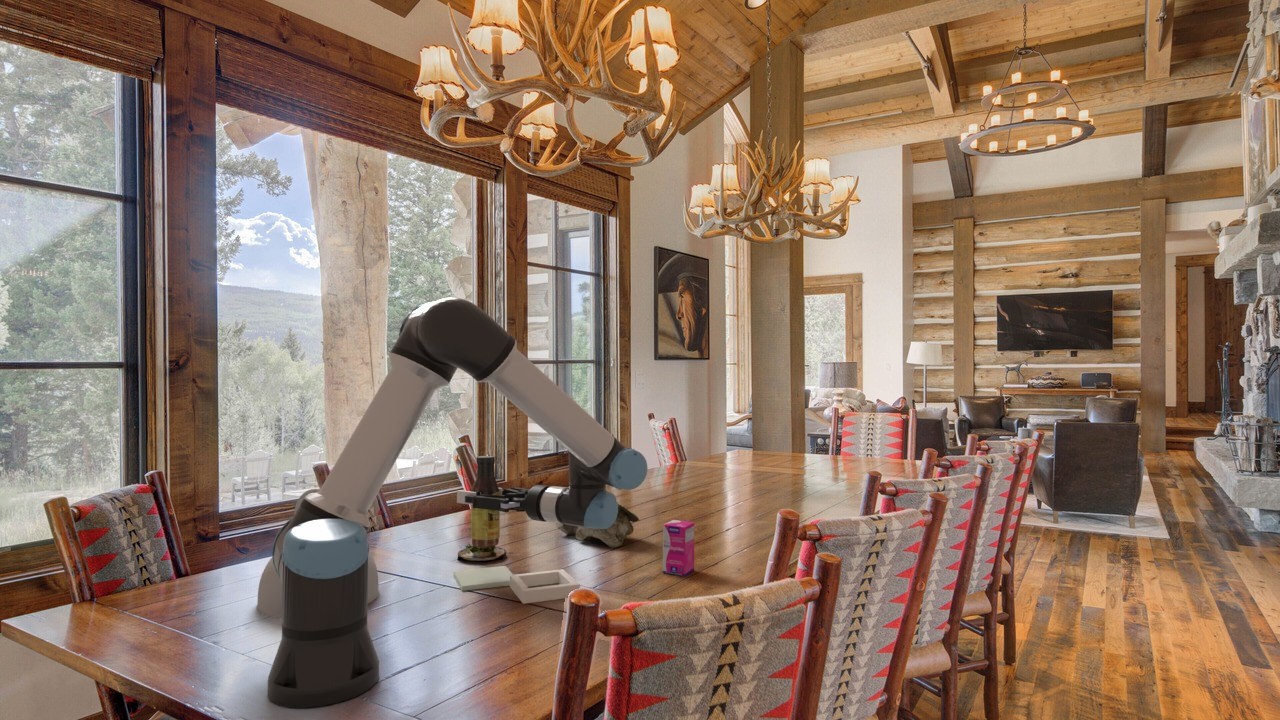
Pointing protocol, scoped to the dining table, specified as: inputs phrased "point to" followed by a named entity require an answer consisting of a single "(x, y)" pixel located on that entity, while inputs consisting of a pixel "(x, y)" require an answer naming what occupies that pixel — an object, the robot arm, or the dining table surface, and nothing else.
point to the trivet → (483, 578)
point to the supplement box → (678, 547)
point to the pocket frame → (545, 593)
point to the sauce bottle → (484, 520)
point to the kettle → (272, 584)
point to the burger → (481, 553)
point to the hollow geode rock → (610, 535)
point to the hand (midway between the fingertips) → (469, 494)
